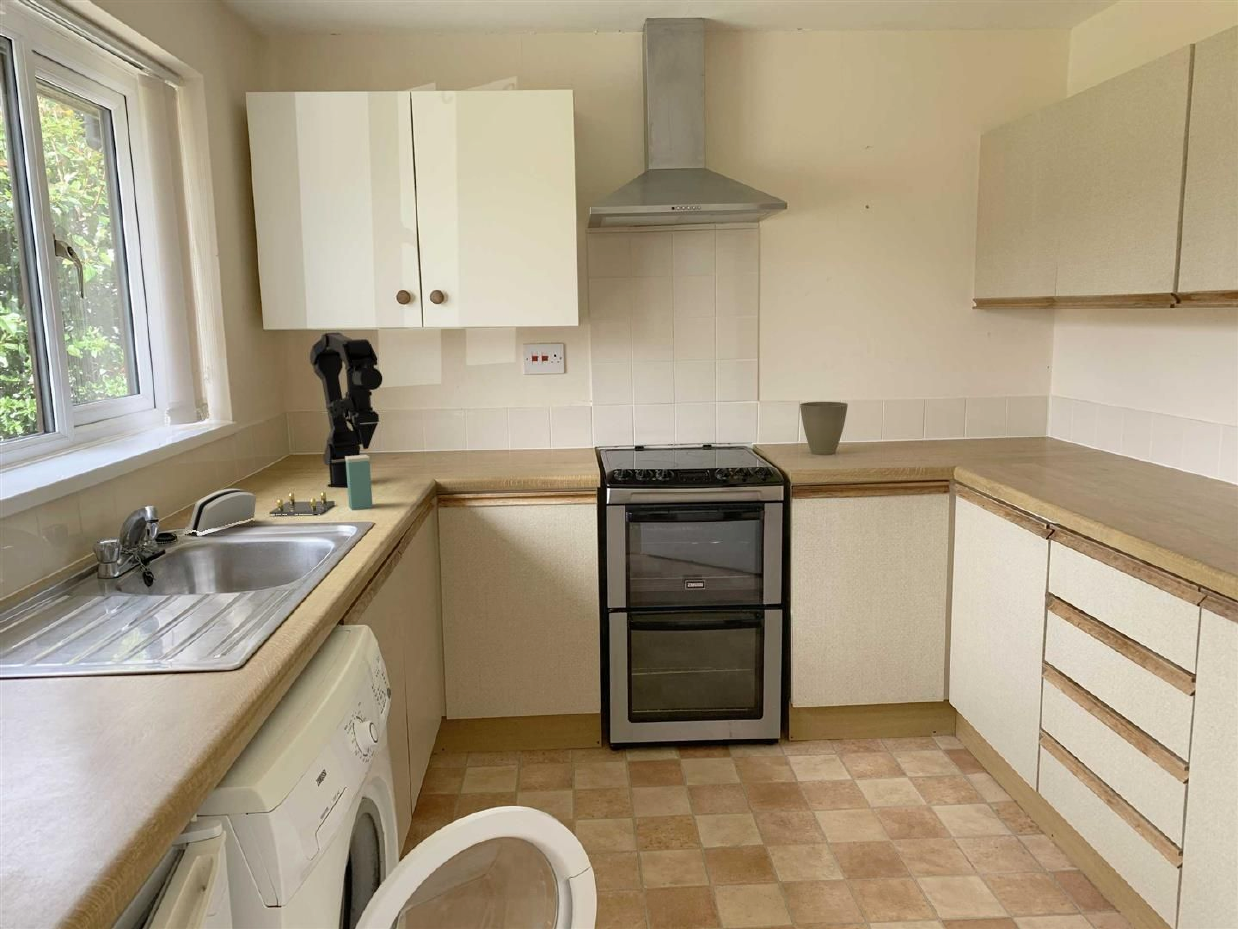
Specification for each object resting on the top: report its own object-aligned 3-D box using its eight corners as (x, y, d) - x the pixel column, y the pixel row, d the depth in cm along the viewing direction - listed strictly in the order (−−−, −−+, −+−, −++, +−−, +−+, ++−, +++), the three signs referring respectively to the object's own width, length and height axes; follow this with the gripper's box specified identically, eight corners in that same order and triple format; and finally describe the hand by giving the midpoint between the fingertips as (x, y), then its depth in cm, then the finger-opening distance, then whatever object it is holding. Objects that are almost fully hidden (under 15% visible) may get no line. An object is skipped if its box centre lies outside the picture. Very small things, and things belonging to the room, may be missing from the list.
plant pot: (792, 451, 302) (793, 402, 299) (835, 448, 305) (836, 400, 302) (810, 458, 288) (810, 407, 285) (854, 455, 290) (855, 405, 287)
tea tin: (348, 506, 231) (344, 456, 229) (369, 504, 233) (366, 454, 231) (351, 510, 226) (347, 459, 224) (373, 508, 228) (369, 457, 226)
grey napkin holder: (237, 519, 219) (245, 480, 217) (253, 526, 218) (261, 488, 215) (182, 535, 204) (189, 494, 201) (198, 543, 203) (205, 502, 200)
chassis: (287, 505, 233) (286, 492, 233) (334, 504, 233) (333, 491, 233) (269, 516, 222) (268, 502, 221) (319, 515, 221) (318, 500, 221)
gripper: (321, 387, 245) (326, 444, 248) (331, 392, 229) (336, 454, 231) (364, 384, 250) (368, 441, 253) (377, 389, 233) (381, 450, 236)
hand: (362, 446), depth 243 cm, fingers open, 9 cm apart
